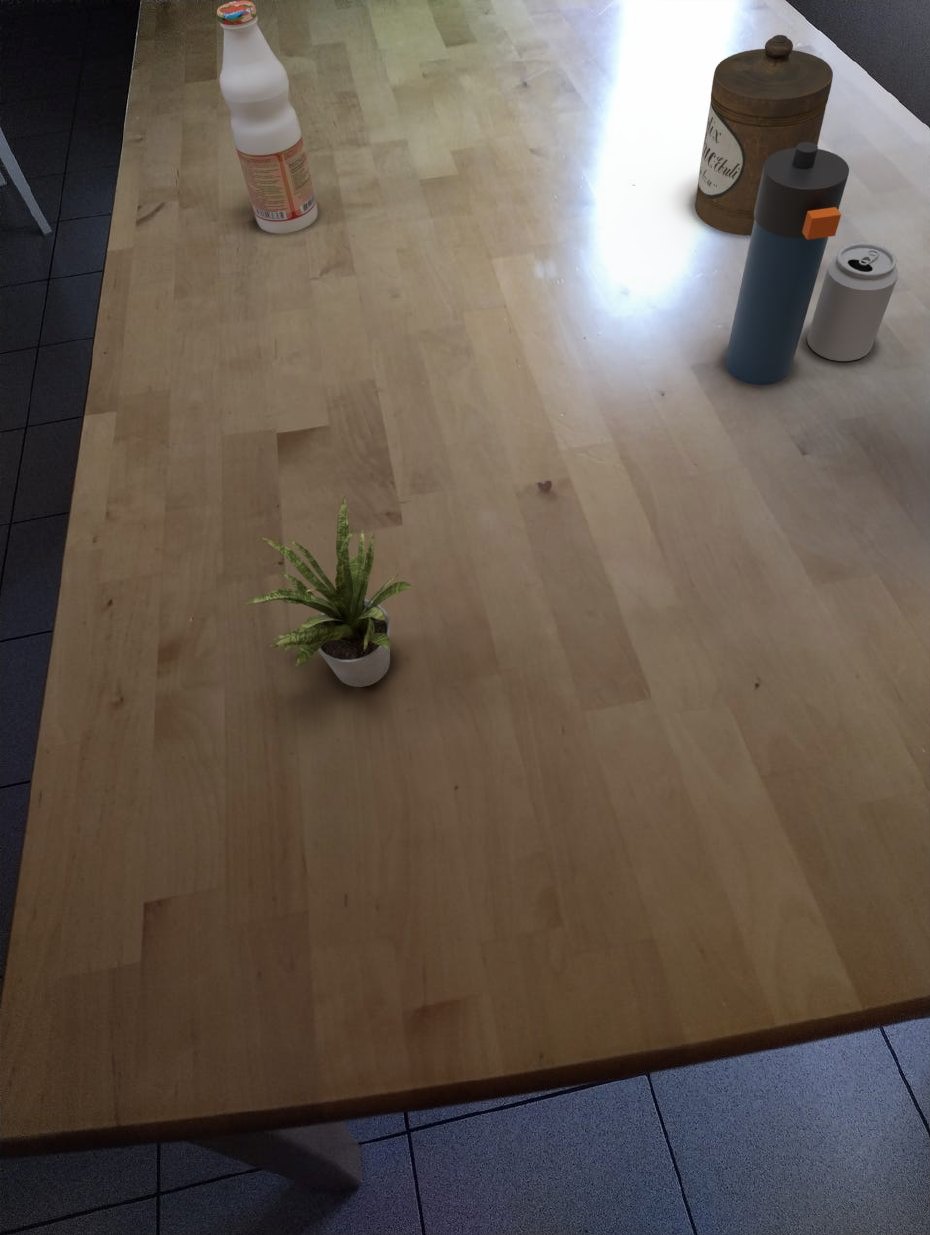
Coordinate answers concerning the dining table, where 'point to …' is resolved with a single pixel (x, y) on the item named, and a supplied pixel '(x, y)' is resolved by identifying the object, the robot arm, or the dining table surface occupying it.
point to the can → (852, 301)
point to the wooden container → (756, 126)
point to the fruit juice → (264, 124)
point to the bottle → (782, 261)
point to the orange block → (821, 223)
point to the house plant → (340, 611)
